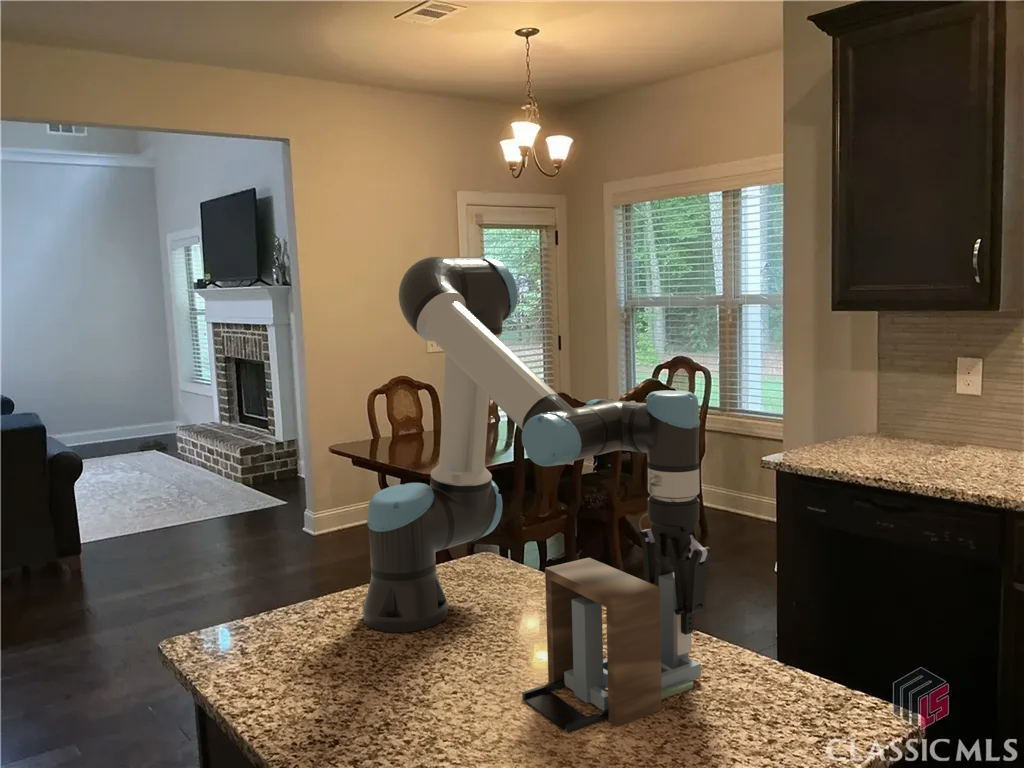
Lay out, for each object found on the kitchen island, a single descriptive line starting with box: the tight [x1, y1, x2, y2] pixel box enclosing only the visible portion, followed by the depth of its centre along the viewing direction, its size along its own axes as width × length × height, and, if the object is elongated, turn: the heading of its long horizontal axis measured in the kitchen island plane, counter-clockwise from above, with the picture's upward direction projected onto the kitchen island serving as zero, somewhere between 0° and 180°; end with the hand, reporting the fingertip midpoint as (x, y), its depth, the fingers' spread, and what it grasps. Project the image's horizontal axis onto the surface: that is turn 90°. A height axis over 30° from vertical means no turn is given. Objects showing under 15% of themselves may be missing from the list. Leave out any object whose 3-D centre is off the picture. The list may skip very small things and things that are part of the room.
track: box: [521, 679, 694, 734], centre depth 119 cm, size 11×22×1 cm, turn 121°
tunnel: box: [544, 557, 663, 728], centre depth 117 cm, size 16×8×17 cm, turn 31°
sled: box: [564, 571, 702, 711], centre depth 120 cm, size 9×19×14 cm, turn 121°
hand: (674, 647), depth 125 cm, fingers closed on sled, 3 cm apart
